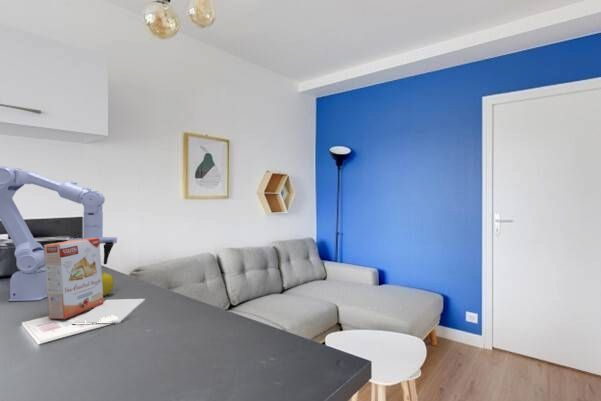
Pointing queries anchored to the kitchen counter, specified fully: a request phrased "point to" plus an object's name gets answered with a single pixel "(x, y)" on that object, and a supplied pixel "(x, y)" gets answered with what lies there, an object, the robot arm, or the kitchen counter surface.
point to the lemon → (107, 283)
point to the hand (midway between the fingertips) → (92, 264)
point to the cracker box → (73, 277)
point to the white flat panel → (111, 310)
